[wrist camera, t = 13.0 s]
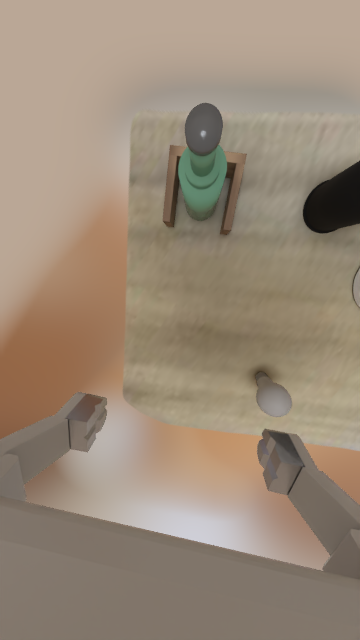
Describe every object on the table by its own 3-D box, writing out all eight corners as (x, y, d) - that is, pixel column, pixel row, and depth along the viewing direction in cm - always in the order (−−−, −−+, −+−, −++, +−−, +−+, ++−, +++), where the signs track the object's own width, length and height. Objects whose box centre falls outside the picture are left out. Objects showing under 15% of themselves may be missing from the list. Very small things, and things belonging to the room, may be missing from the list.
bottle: (219, 188, 32) (247, 84, 13) (213, 222, 34) (230, 173, 15) (188, 184, 33) (173, 76, 14) (183, 218, 34) (165, 165, 16)
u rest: (239, 170, 31) (246, 153, 26) (226, 234, 34) (230, 230, 30) (174, 162, 32) (170, 145, 27) (167, 226, 35) (162, 220, 30)
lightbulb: (249, 388, 44) (265, 427, 33) (244, 366, 42) (259, 400, 32) (275, 383, 43) (300, 422, 32) (271, 361, 41) (296, 394, 31)
